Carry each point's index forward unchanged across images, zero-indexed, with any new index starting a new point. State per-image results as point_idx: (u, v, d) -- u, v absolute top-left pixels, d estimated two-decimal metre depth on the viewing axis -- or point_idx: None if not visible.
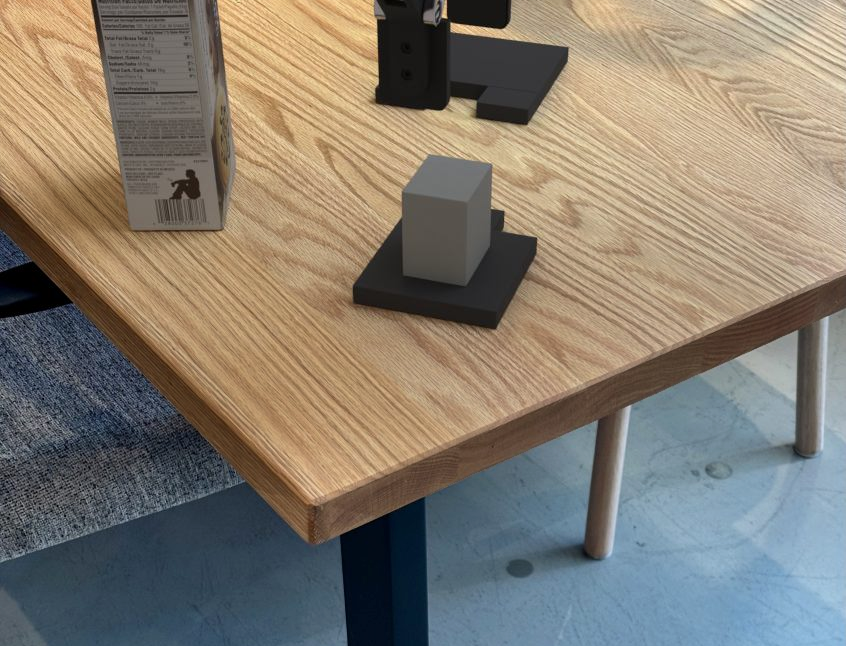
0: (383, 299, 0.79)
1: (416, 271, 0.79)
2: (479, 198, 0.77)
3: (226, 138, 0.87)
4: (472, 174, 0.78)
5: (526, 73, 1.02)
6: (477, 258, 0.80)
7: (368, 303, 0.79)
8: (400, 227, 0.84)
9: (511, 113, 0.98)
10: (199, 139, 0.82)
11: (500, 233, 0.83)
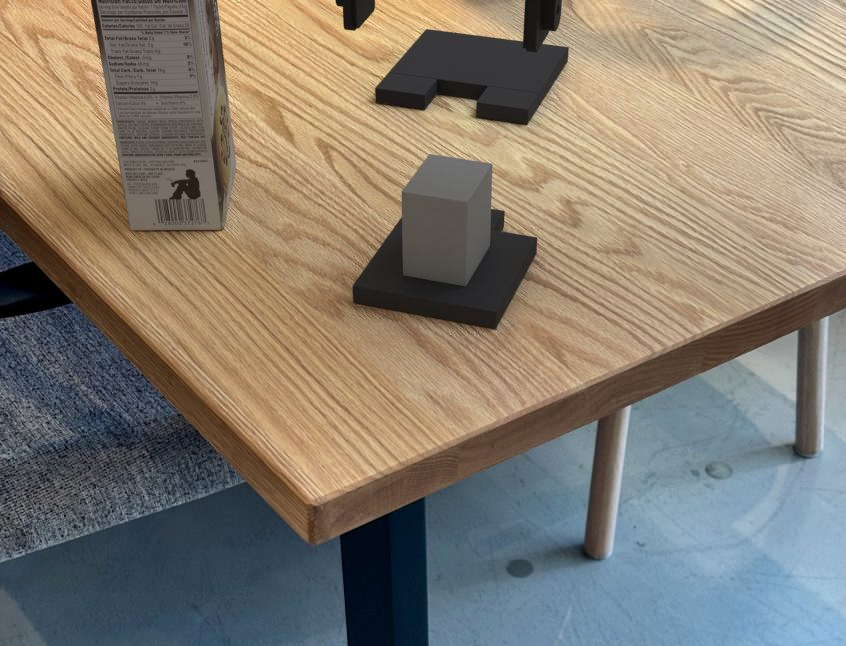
0: (383, 299, 0.79)
1: (416, 271, 0.79)
2: (479, 198, 0.77)
3: (226, 138, 0.87)
4: (472, 174, 0.78)
5: (526, 73, 1.02)
6: (477, 258, 0.80)
7: (368, 303, 0.79)
8: (400, 227, 0.84)
9: (511, 113, 0.98)
10: (199, 139, 0.82)
11: (500, 233, 0.83)
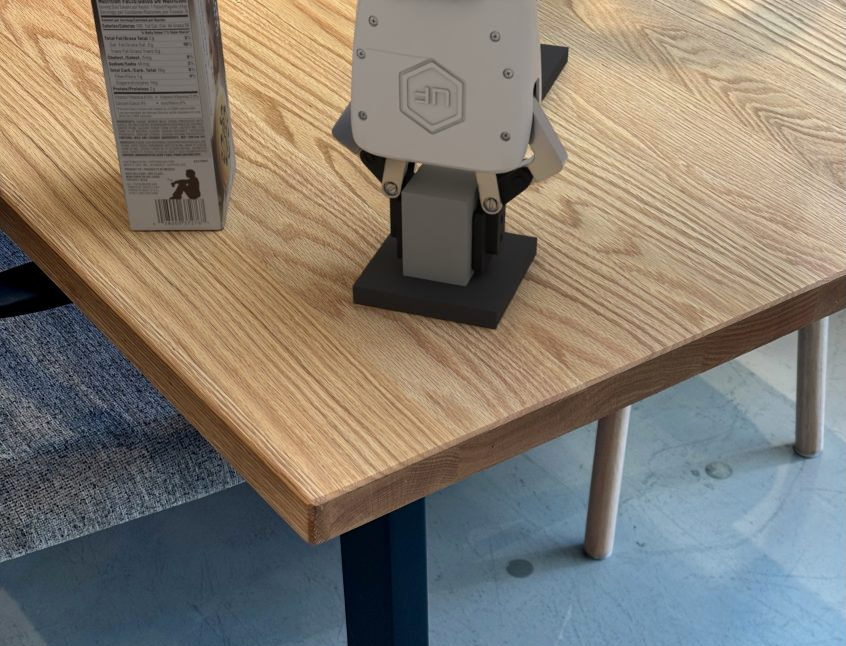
0: (383, 299, 0.79)
1: (416, 271, 0.79)
2: None
3: (226, 138, 0.87)
4: (472, 174, 0.78)
5: None
6: None
7: (368, 303, 0.79)
8: None
9: None
10: (199, 139, 0.82)
11: None
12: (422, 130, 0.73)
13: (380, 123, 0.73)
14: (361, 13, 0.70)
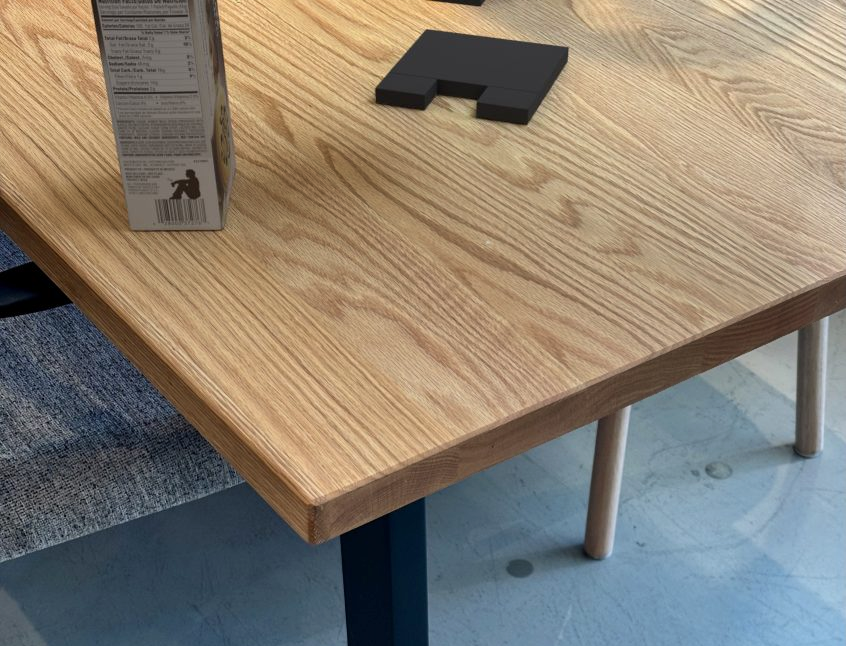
0: None
1: None
2: None
3: (226, 138, 0.87)
4: None
5: (526, 73, 1.02)
6: None
7: None
8: None
9: (511, 113, 0.98)
10: (199, 139, 0.82)
11: None
12: None
13: None
14: None
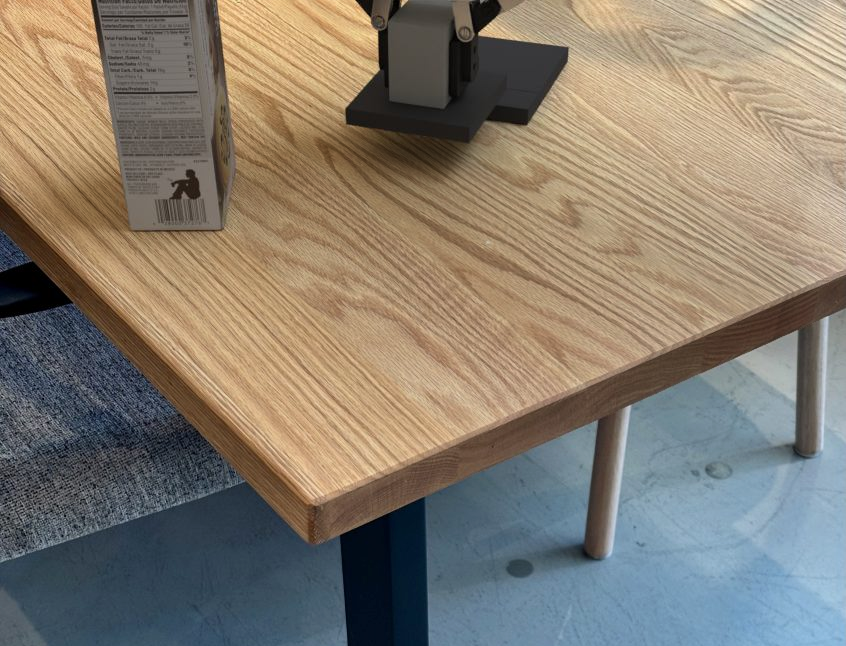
0: (372, 120, 0.91)
1: (400, 96, 0.91)
2: None
3: (226, 138, 0.87)
4: (449, 9, 0.90)
5: (526, 73, 1.02)
6: None
7: (359, 124, 0.92)
8: None
9: (511, 113, 0.98)
10: (199, 139, 0.82)
11: None
12: None
13: None
14: None
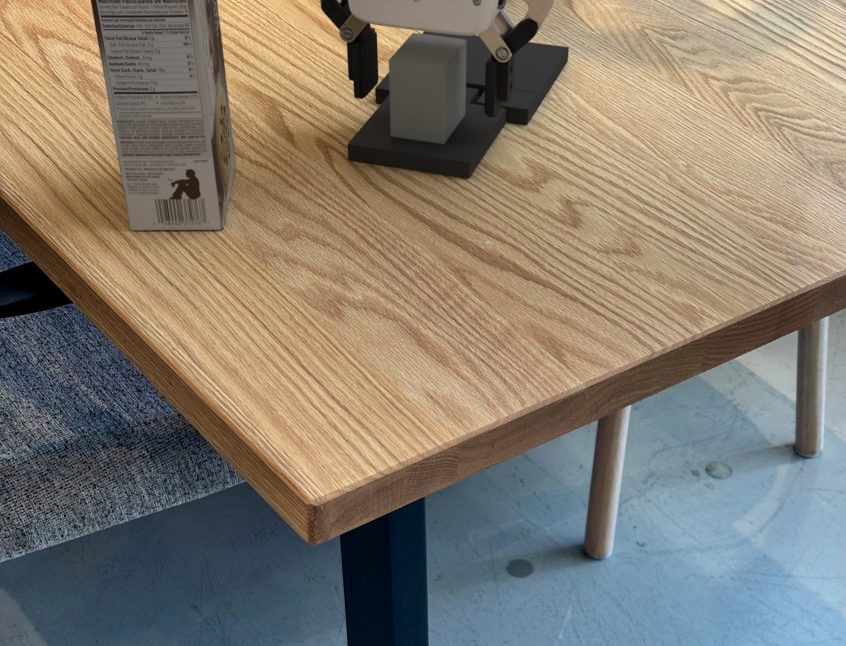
0: (373, 155, 0.93)
1: (401, 132, 0.93)
2: (454, 67, 0.91)
3: (226, 138, 0.87)
4: (449, 47, 0.91)
5: (526, 73, 1.02)
6: (454, 122, 0.94)
7: (361, 159, 0.93)
8: (388, 101, 0.98)
9: (511, 113, 0.98)
10: (199, 139, 0.82)
11: (474, 105, 0.97)
12: None
13: None
14: None
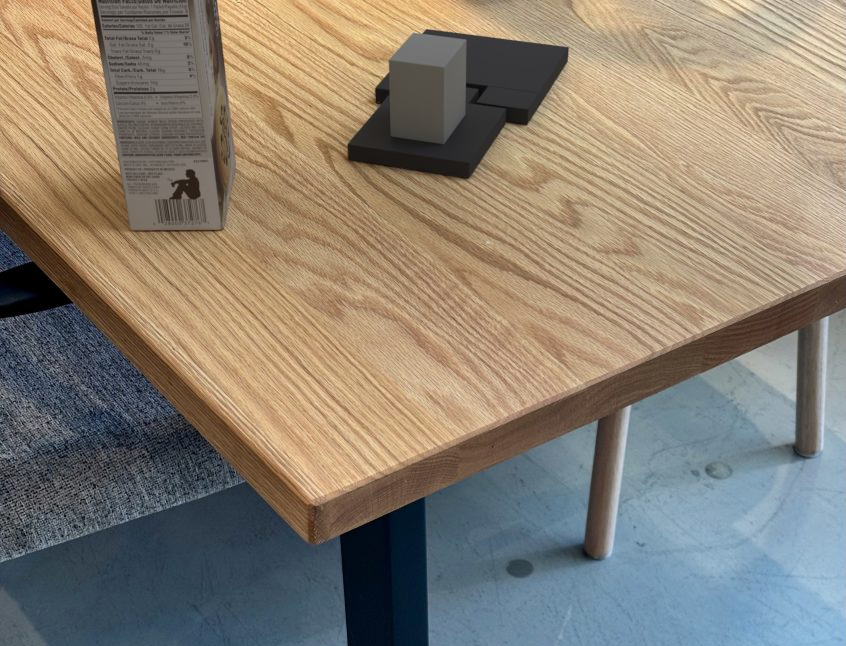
0: (373, 155, 0.93)
1: (401, 132, 0.93)
2: (454, 67, 0.91)
3: (226, 138, 0.87)
4: (449, 47, 0.91)
5: (526, 73, 1.02)
6: (454, 122, 0.94)
7: (361, 159, 0.93)
8: (388, 101, 0.98)
9: (511, 113, 0.98)
10: (199, 139, 0.82)
11: (474, 105, 0.97)
12: None
13: None
14: None
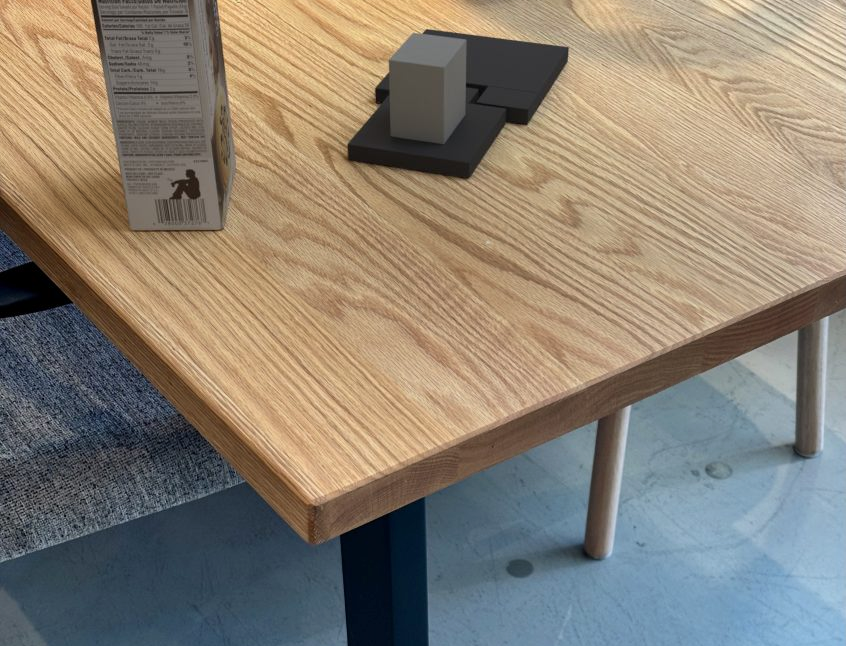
0: (373, 155, 0.93)
1: (401, 132, 0.93)
2: (454, 67, 0.91)
3: (226, 138, 0.87)
4: (449, 47, 0.91)
5: (526, 73, 1.02)
6: (454, 122, 0.94)
7: (361, 159, 0.93)
8: (388, 101, 0.98)
9: (511, 113, 0.98)
10: (199, 139, 0.82)
11: (474, 105, 0.97)
12: None
13: None
14: None
